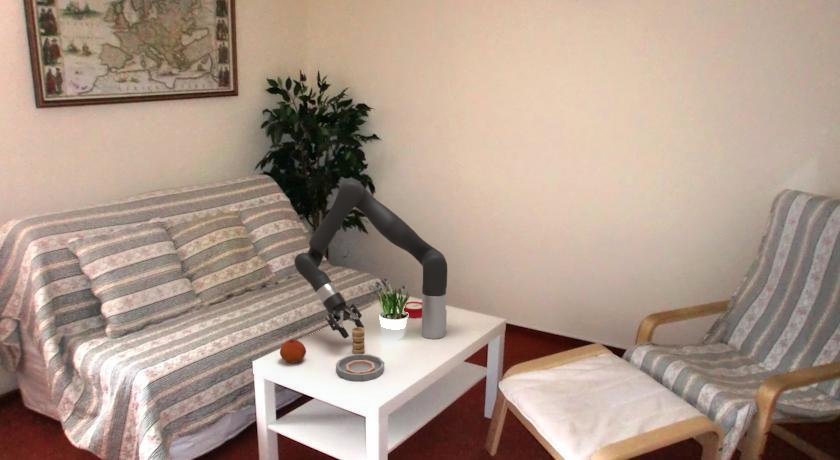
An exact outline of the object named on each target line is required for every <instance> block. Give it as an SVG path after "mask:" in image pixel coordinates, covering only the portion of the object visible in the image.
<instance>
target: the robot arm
mask: <svg viewBox="0 0 840 460" xmlns="http://www.w3.org/2000/svg"><path fill="white" fill-rule="evenodd" d="M354 208H356V209H357V210H358V211H359V212H361V213H362V214H363V215H364V216H365V217H366V218H367V220H368V221H369V222H370V223H371V225H372V226H373V227H374V228H375V229H376V230H377V232H378V233H380V234H381V235H382V236H383V237H384V238H385V239H386V240H388V241H389V242H390V243H392V244H393V245H394V246H396V247H398V248H400V249H402V250H403V251H406V252H407V253H409V254H410V256H412V257H413V258H414V259H415V260H416V261H417V262H418V263H419V264H420V265H421V266H422V287H421V302H422V317H421V336H422V337H424V338H426V339H432V340H435V339H436V340H437V339H441V338H443V337H445V336H446V334H447V318H448V317H447V316H448V315H447V311H448V310H447V309H446V308H447V286H448V263H447V260H446V257H445V255H444V254H443V253H442V252H441V251H439V250H437V249H436V248H435V247H433V246H432V245H431V244H429V243H428V242H426V241H425V240H424V239H423V238H421V236H419V235H418V233H417V232H416V231H415V230H413V229H412V228H411V226H410V225H408V224H407V223H406V222H405V221H404V220H403V219H402V218H401V217H400V216H398V215H397V214H395V212H393V211H392V210H391V209H389V208H388V207H387V206H386V205H384V204H383V203H381V202H380V201H378V199H376V198H375V196H373V194H371V192H369V190H367V189H366V188H365V186H364V185H363V184H362V183H361V182H360V181H358V180H357V179H355V178H347V179H344V180H343V181H341V182H340V185H339V186H338V191H337V195H336V197H335V199H334V201H333V204H332V206H331V208H330V210H328V211H329V212H328V213H326V214H327V215H325V217H324V218H323V220H322V221H321V222H320V223H319V225H318V226H317V227H316V230H315V231H314V233H313V234H312V236H311V237H310V240H309V242H308V245H309V249H308V251H307V252H301V253H298V254H297V255H296V256H295V258H294V266H295V269H296V270H297V272H298V273H299V274H300V275H301V276H302V277H303V278H304V279H305V280H306V281H307V282H308V283H309V285H310V286H311V287H312V289H313V291H314V292H315V294H316V295H317V297H318V299H319V300H320V302H321V303H322V306H323V307H324V308H325V310H326V312H327V313H328V314H327V315H326V316H325V321H327V323H328V325H329V326H330V328H331V330H332V331H338V332H339V334H340V335H341V337H342V338H344V339H347V338H349V336H350V334H349V333H348V331H347V329H346V328H345V327H344V324H343V323H344V322H345V321H349V322H350V321H351V322H353V323H354V325H355V326H356V327H362V328H364V329H365V326H364V324H363V323H362V321H361V318H362V316H363V314H362V313H361V312H360V311H359V310H358V308H357V307H356V305H355V304H354V303H352V304H350V305H349V306H348V305H347V304H346V302H347V301H346V300H345V298H344V297H343V295H342V294H341V292H340V290H339V289H338V288H337V286H336V285H335V284H334V283H333V281H332V280H331V278H330V277H329V275H328V274H327V273H326V272H325V271H324V270H321V269H320V268H319V267H320V265H321V264H322V261H323V259H324V256H325V253H326V250H327V249H328V248H329V246H330V244H331V243H332V241H333V239H334V238H335V236H336V234H337V233H338V231H339V229H340V227H341V225H342V224H343V222H344V221H345V219H346V218H347V217H348V216H349V214H350V213H351V211H352V210H353V209H354Z"/></svg>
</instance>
